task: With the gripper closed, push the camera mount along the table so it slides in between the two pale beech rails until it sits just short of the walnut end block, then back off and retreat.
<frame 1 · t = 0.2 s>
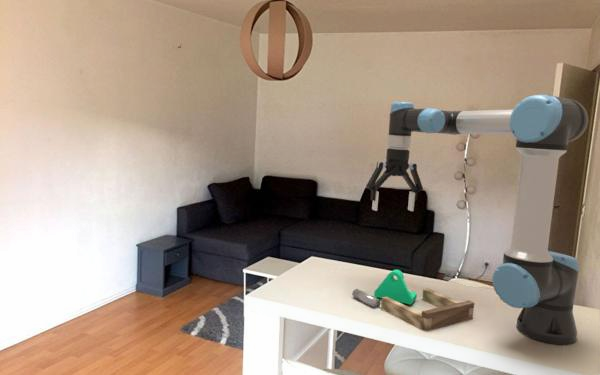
hand: (392, 210, 165), 27 cm above the table, fingers open, 13 cm apart
shaft stub: (365, 303, 151), on the table
u-shaped wooden frame: (426, 313, 144), on the table
camera mount: (395, 300, 155), on the table
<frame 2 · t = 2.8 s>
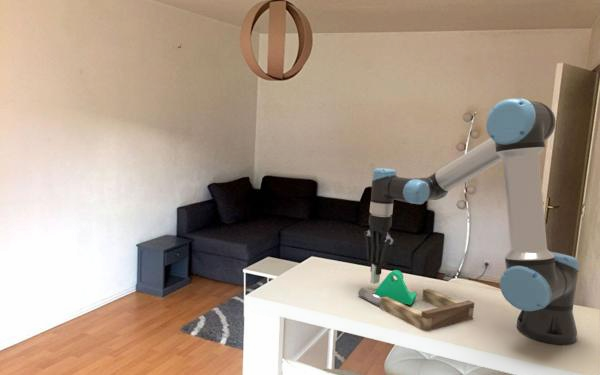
hand: (374, 282, 163), 2 cm above the table, fingers closed
shaft stub: (368, 296, 151), point 2 cm above the table, tilted 107°
everything else where it was.
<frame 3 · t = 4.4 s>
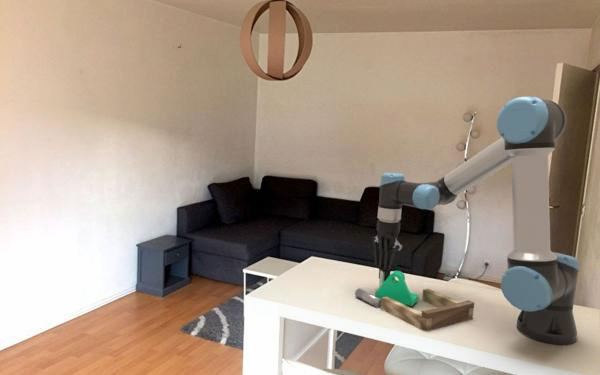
hand: (383, 289, 160), 1 cm above the table, fingers closed
shaft stub: (365, 301, 151), on the table, tilted 51°
camera mount: (396, 302, 153), on the table, touching gripper
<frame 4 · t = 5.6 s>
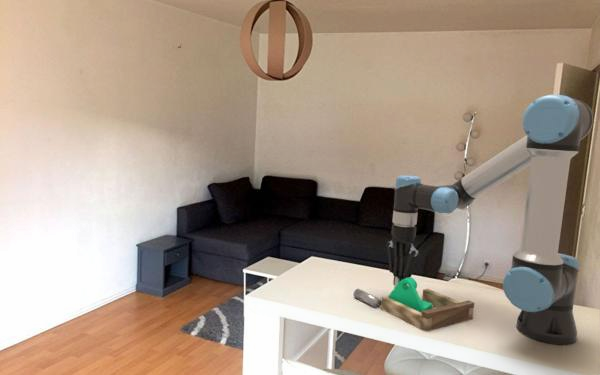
hand: (398, 296, 154), 1 cm above the table, fingers closed
shaft stub: (365, 302, 151), on the table, tilted 28°
camera mount: (408, 310, 147), on the table
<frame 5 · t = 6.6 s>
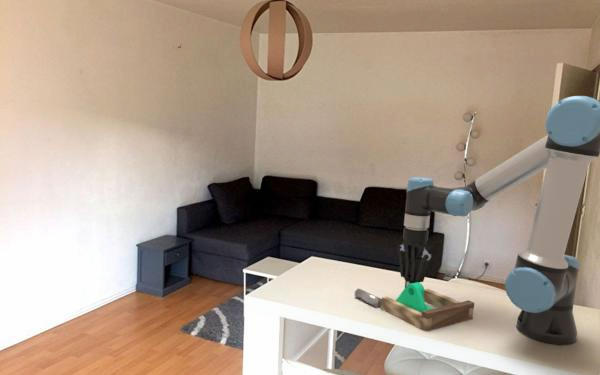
hand: (409, 301, 150), 1 cm above the table, fingers closed
shaft stub: (365, 301, 151), on the table, tilted 44°
camera mount: (417, 316, 142), on the table, touching gripper
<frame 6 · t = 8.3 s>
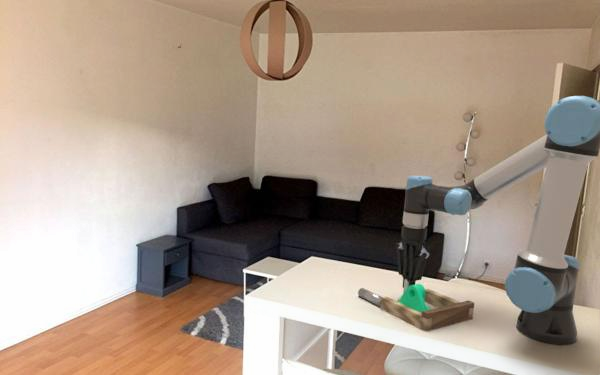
hand: (407, 299, 150), 2 cm above the table, fingers closed
shaft stub: (368, 297, 151), point 2 cm above the table, tilted 103°
camera mount: (418, 318, 141), on the table
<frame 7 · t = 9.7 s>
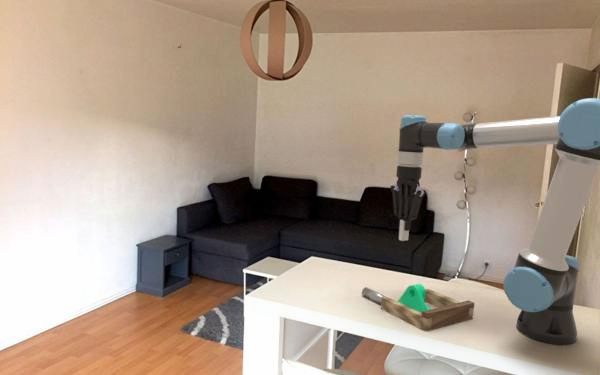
hand: (403, 239, 151), 20 cm above the table, fingers closed
shaft stub: (375, 292, 152), point 3 cm above the table, tilted 170°
everything else where it was.
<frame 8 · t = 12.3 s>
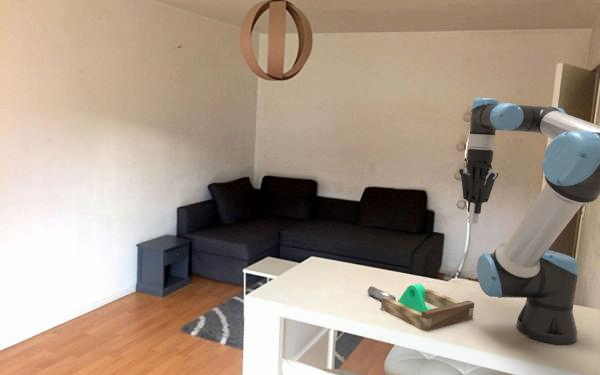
hand: (472, 223, 152), 26 cm above the table, fingers closed
shaft stub: (384, 295, 155), point 1 cm above the table, tilted 88°
everything else where it was.
at the end: camera mount inside the target area on the u-shaped wooden frame (4.2 cm from its centre), point 0.0 cm above the u-shaped wooden frame's base; camera mount tilted 0°; camera mount moved 14.6 cm from its start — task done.
